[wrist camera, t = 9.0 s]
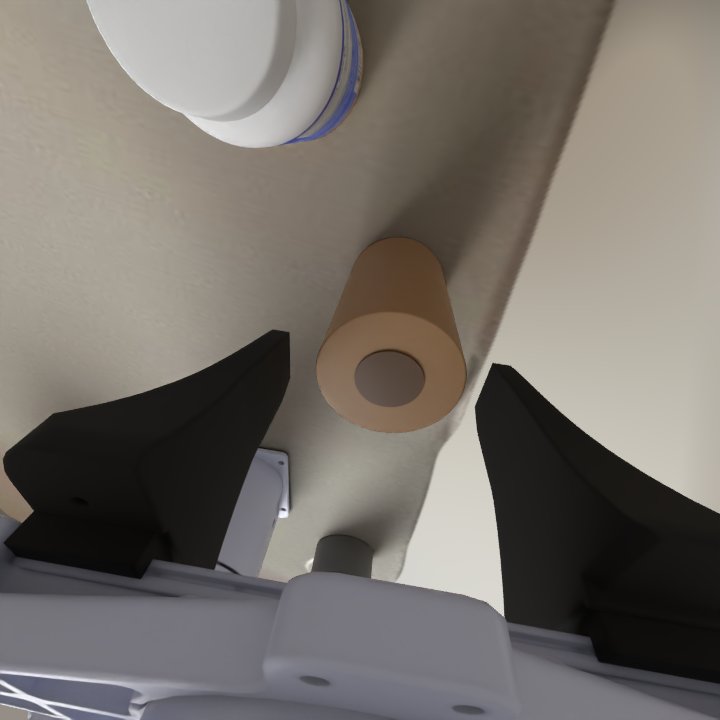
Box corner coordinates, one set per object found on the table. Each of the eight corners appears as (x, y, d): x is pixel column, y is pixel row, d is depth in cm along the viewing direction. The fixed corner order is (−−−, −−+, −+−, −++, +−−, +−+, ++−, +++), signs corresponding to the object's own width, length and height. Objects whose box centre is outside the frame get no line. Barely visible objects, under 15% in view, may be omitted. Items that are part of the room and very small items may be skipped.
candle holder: (334, 528, 35) (228, 1098, 14) (384, 550, 36) (353, 1101, 16) (307, 550, 38) (191, 1040, 18) (354, 570, 40) (296, 1046, 19)
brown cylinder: (431, 330, 21) (445, 444, 13) (347, 318, 21) (312, 423, 13) (453, 244, 18) (488, 325, 10) (355, 230, 18) (317, 300, 10)
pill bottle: (221, 88, 15) (16, 48, 7) (272, -71, 12) (26, -424, 4) (325, 167, 16) (247, 206, 9) (392, 39, 14) (370, -80, 6)
